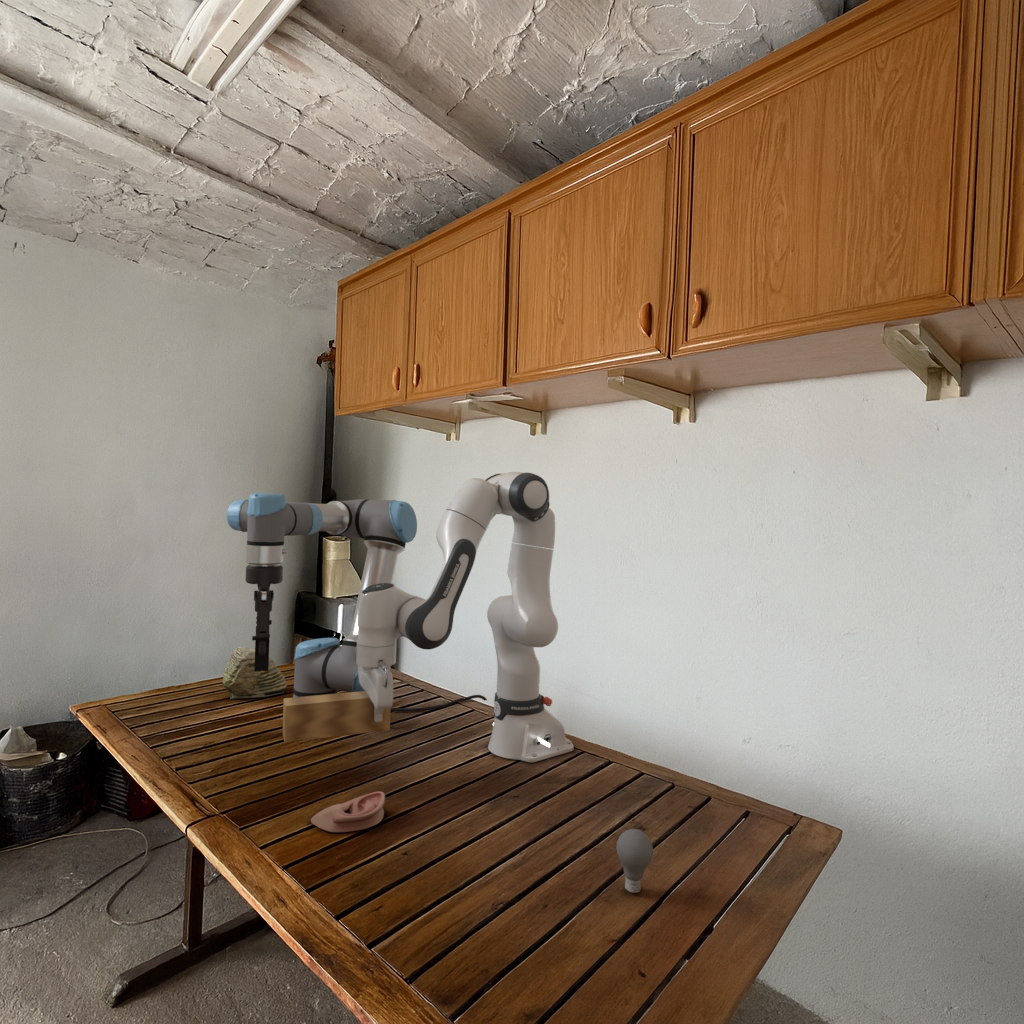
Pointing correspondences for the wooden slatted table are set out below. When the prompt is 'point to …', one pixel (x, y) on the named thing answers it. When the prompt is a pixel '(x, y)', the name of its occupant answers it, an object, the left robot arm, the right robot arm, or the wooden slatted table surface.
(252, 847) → the wooden slatted table surface
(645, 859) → the light bulb
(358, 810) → the anatomical model
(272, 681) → the fossil
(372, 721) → the bar
